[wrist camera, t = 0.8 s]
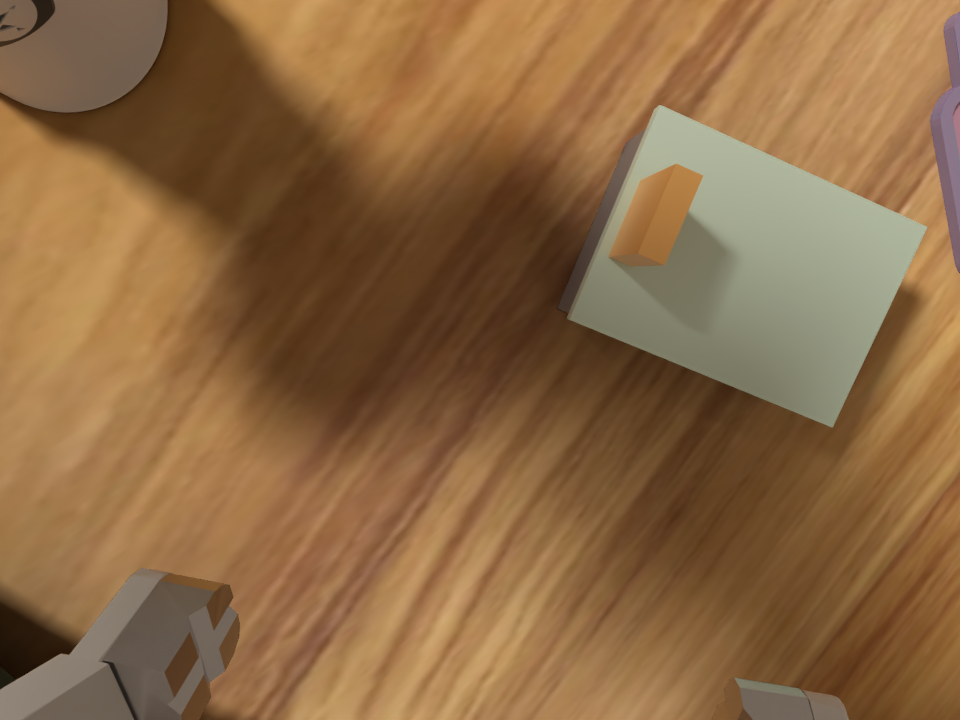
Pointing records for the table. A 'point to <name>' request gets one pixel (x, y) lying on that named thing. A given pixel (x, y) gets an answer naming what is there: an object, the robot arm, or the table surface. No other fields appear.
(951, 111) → the icon
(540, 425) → the table surface
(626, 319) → the lid
